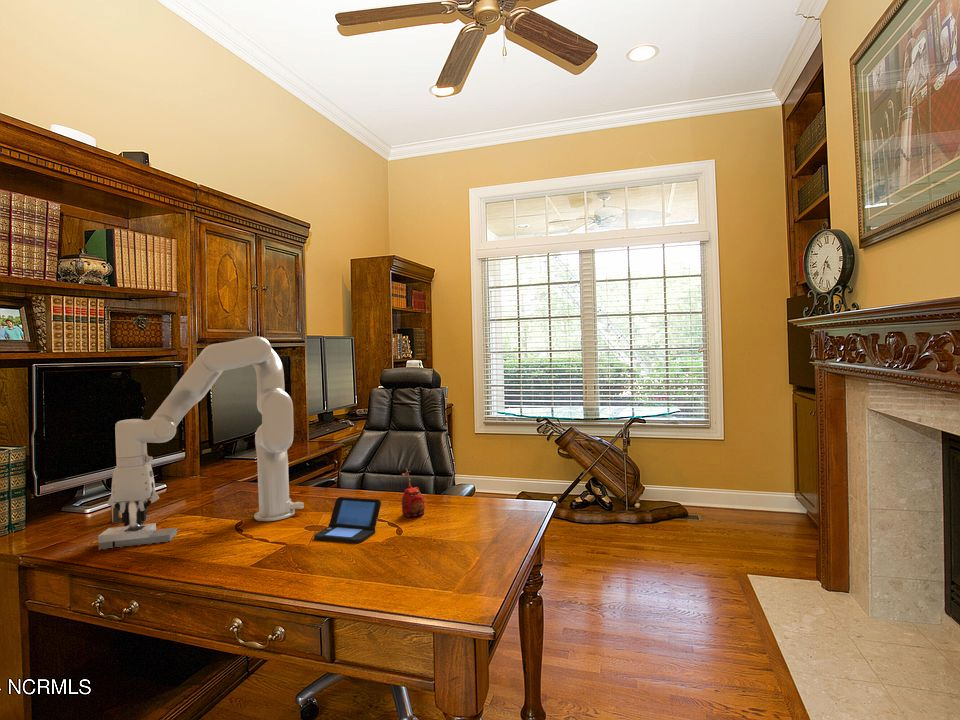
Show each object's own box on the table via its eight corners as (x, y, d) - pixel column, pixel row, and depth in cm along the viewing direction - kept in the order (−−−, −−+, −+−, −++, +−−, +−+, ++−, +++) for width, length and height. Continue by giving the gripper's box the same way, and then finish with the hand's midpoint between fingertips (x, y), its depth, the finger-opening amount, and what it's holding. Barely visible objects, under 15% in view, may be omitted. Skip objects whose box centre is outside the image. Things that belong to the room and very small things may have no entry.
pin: (145, 534, 156) (143, 490, 156) (140, 539, 152) (138, 494, 152) (129, 536, 155) (128, 492, 155) (124, 541, 151) (122, 495, 151)
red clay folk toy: (409, 520, 166) (407, 472, 165) (397, 515, 171) (395, 469, 171) (428, 514, 171) (427, 468, 170) (416, 510, 176) (415, 465, 176)
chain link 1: (156, 536, 158) (155, 523, 158) (148, 544, 151) (147, 530, 151) (109, 541, 155) (108, 528, 155) (98, 549, 148) (98, 535, 148)
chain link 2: (177, 534, 159) (176, 527, 159) (169, 541, 153) (169, 535, 153) (124, 539, 156) (124, 533, 156) (114, 548, 149) (114, 541, 149)
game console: (311, 540, 150) (310, 509, 150) (338, 525, 163) (337, 496, 163) (359, 544, 146) (358, 512, 146) (383, 528, 159) (382, 499, 159)
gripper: (167, 457, 159) (169, 517, 159) (105, 461, 155) (107, 523, 155) (159, 461, 152) (161, 525, 152) (93, 466, 147) (96, 531, 148)
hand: (134, 523), depth 153 cm, fingers closed on pin, 3 cm apart
